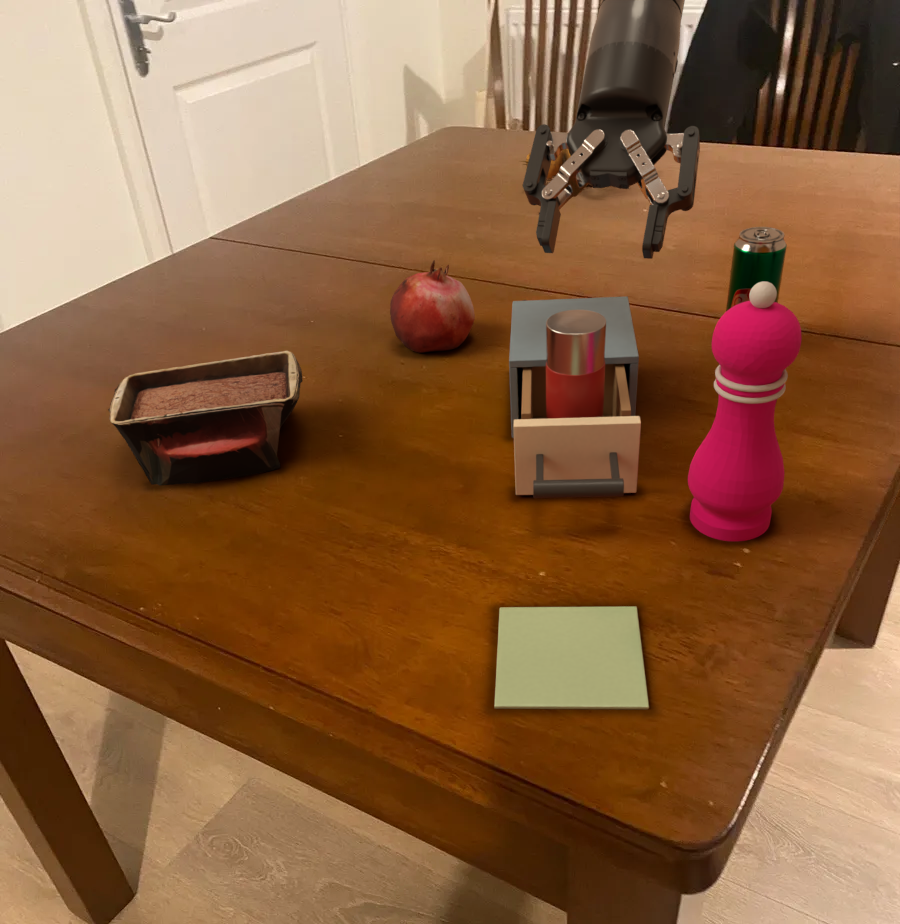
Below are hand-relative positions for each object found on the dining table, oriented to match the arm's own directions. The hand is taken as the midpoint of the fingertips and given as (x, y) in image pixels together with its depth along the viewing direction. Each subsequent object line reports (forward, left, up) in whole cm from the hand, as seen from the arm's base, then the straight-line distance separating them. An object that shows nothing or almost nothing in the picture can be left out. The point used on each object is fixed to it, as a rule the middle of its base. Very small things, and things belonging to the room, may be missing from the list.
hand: (596, 251), depth 77 cm
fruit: (+17, -19, -17) cm, 31 cm away
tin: (+2, +7, -15) cm, 17 cm away
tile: (+3, +32, -17) cm, 36 cm away
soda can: (-17, -16, -17) cm, 29 cm away
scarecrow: (-1, -77, -17) cm, 79 cm away
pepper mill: (-10, +16, -17) cm, 26 cm away
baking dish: (+36, +3, -17) cm, 40 cm away
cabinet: (+2, -4, -17) cm, 17 cm away
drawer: (+2, +9, -16) cm, 18 cm away
